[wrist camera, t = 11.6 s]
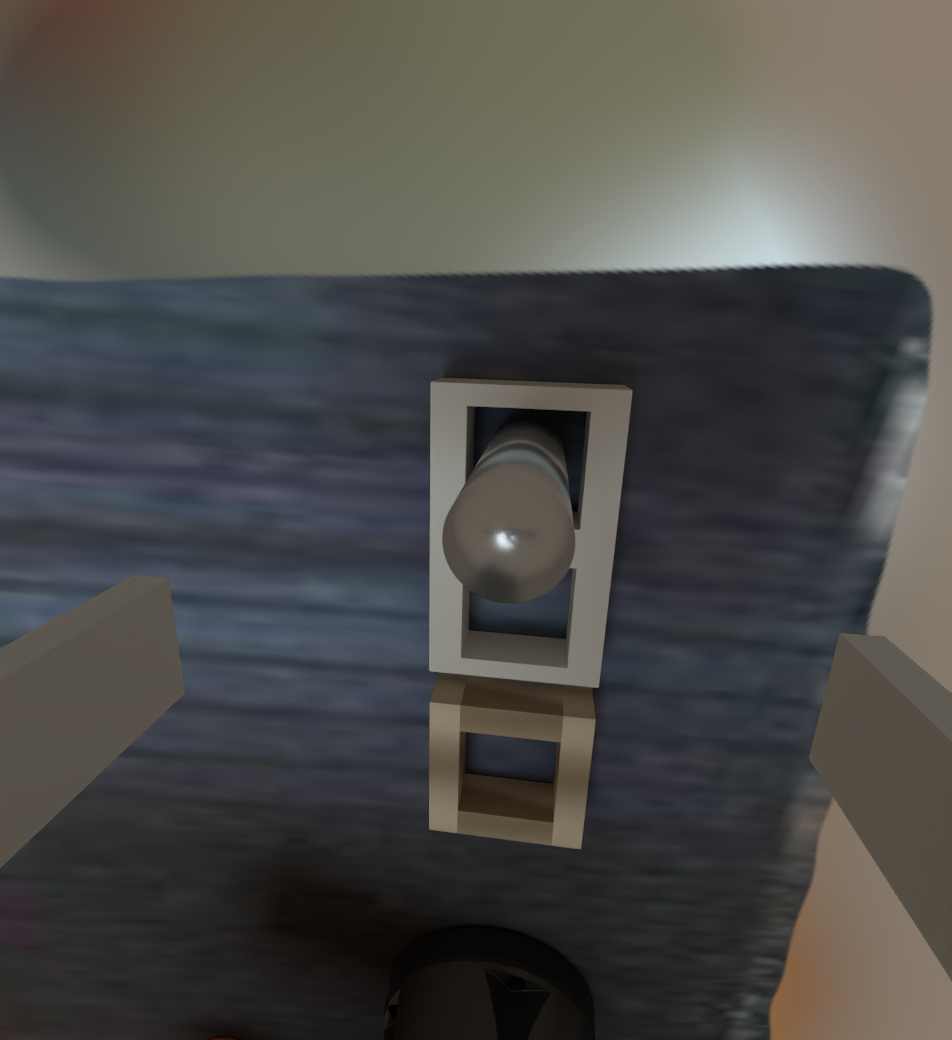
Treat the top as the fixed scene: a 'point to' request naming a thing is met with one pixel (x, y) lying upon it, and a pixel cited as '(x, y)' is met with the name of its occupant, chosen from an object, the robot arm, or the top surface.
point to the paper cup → (224, 1038)
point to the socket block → (504, 801)
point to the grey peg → (513, 517)
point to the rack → (592, 523)
